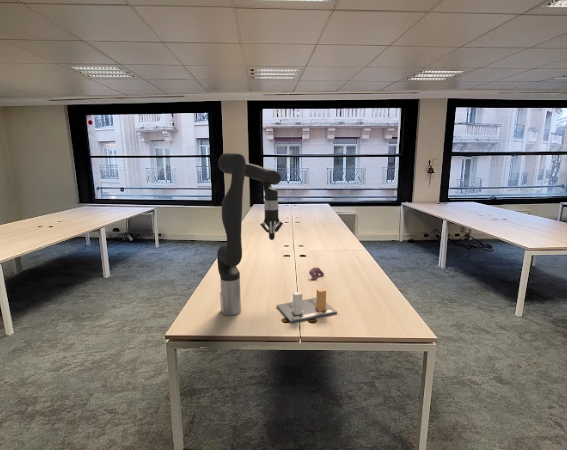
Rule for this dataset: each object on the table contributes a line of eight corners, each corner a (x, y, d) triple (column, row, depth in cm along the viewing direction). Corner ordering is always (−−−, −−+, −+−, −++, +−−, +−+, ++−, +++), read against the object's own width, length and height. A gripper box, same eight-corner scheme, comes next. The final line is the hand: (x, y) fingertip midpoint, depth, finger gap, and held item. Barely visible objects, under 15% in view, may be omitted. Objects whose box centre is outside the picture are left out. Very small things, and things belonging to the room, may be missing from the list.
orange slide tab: (319, 311, 156) (319, 292, 154) (315, 307, 160) (315, 289, 158) (326, 310, 157) (327, 291, 155) (322, 306, 161) (322, 287, 159)
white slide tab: (295, 315, 152) (295, 295, 150) (291, 311, 156) (291, 292, 154) (303, 313, 154) (303, 294, 152) (299, 309, 157) (299, 290, 156)
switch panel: (291, 323, 147) (291, 320, 147) (276, 306, 164) (276, 304, 163) (337, 313, 156) (337, 311, 156) (319, 298, 173) (319, 296, 172)
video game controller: (319, 276, 209) (315, 266, 210) (325, 275, 206) (320, 264, 207) (310, 281, 201) (306, 270, 202) (316, 279, 199) (312, 268, 199)
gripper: (262, 210, 171) (262, 242, 174) (285, 208, 176) (285, 239, 179) (257, 208, 177) (258, 239, 181) (280, 206, 182) (280, 236, 186)
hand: (271, 239), depth 180 cm, fingers closed
